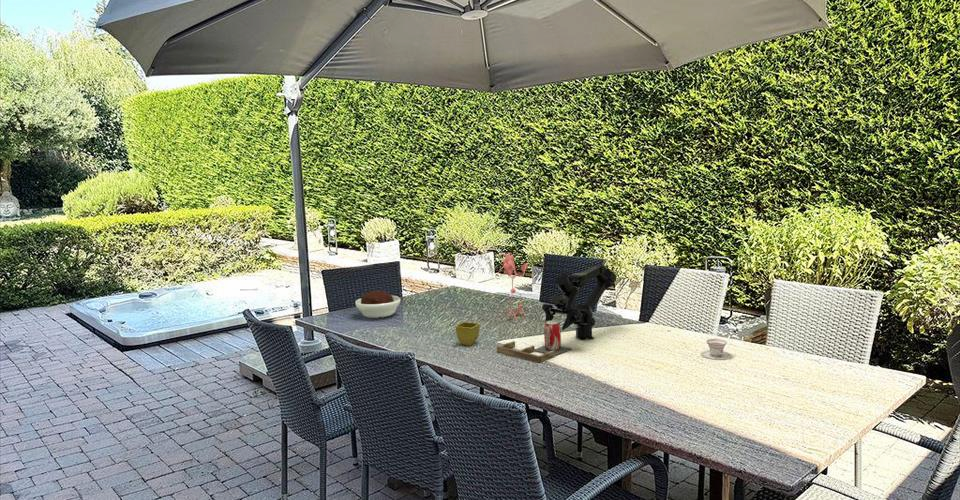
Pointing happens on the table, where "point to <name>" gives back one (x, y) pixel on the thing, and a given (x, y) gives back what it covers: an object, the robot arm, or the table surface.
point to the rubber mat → (557, 352)
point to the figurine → (508, 268)
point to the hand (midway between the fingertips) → (554, 328)
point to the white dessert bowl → (377, 304)
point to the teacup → (716, 350)
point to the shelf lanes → (524, 352)
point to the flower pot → (467, 332)
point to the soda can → (552, 335)
